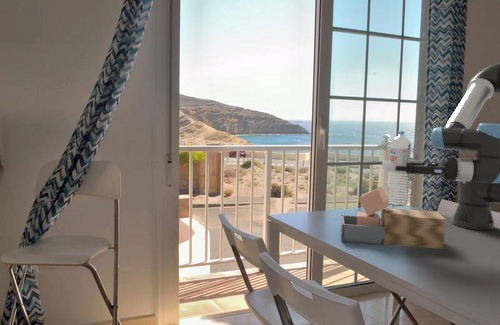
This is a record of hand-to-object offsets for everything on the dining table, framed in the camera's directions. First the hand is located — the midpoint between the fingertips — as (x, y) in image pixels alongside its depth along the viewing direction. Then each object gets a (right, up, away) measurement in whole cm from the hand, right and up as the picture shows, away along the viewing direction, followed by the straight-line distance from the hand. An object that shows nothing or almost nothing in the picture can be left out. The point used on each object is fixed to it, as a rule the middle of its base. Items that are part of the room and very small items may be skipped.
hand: (383, 166), depth 145 cm
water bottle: (+5, -13, +1) cm, 14 cm away
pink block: (-4, -21, +7) cm, 22 cm away
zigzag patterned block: (+10, -26, +3) cm, 28 cm away
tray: (-6, -25, +6) cm, 27 cm away
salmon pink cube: (-2, -12, +6) cm, 14 cm away
